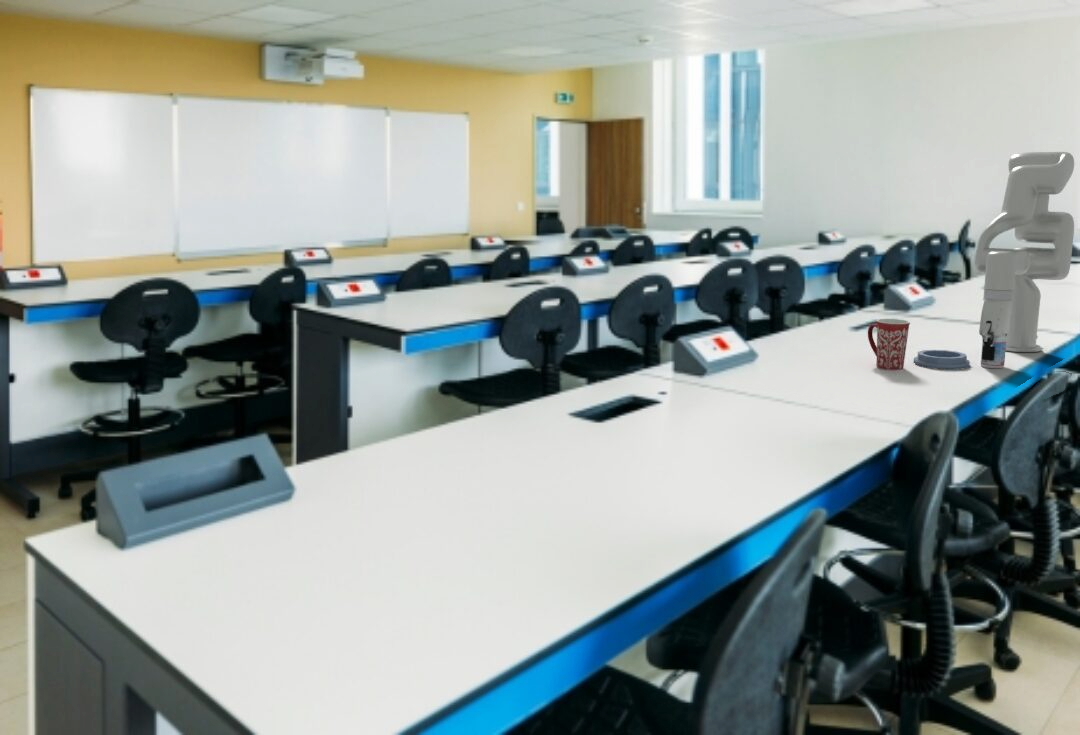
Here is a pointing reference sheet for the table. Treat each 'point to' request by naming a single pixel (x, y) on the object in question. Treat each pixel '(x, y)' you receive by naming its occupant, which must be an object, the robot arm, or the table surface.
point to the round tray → (942, 359)
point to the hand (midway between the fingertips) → (992, 357)
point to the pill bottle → (996, 353)
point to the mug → (890, 342)
